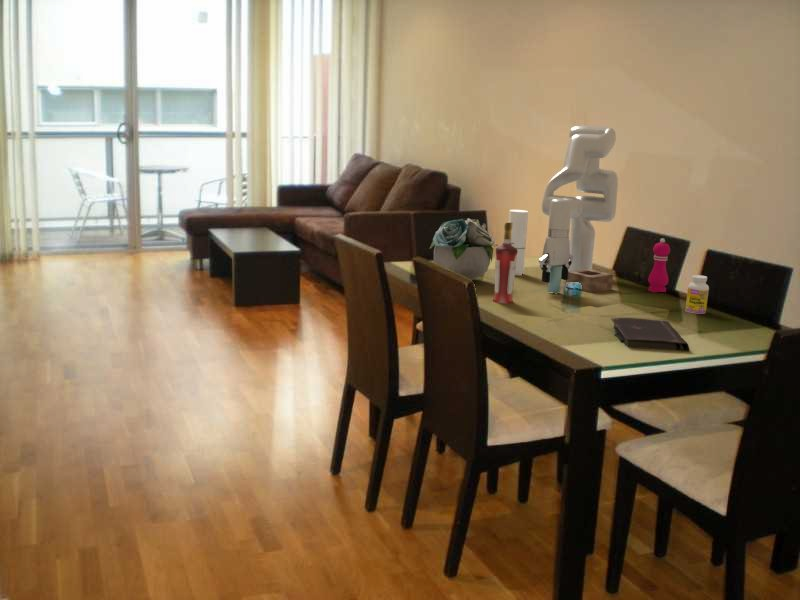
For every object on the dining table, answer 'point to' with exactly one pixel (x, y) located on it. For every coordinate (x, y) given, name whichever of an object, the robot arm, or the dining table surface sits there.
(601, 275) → the socket block
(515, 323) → the dining table surface
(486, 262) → the flower arrangement
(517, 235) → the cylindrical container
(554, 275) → the peg
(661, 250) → the pepper mill
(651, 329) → the diary
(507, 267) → the liquor
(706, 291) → the supplement bottle
